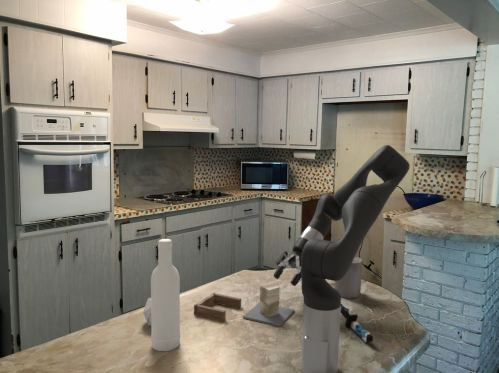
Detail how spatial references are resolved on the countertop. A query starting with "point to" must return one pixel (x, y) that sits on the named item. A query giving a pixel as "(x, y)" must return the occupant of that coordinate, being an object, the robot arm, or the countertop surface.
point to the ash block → (269, 299)
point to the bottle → (165, 301)
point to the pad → (273, 320)
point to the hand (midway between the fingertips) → (283, 281)
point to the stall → (206, 311)
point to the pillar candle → (351, 280)
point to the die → (148, 311)
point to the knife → (355, 325)
